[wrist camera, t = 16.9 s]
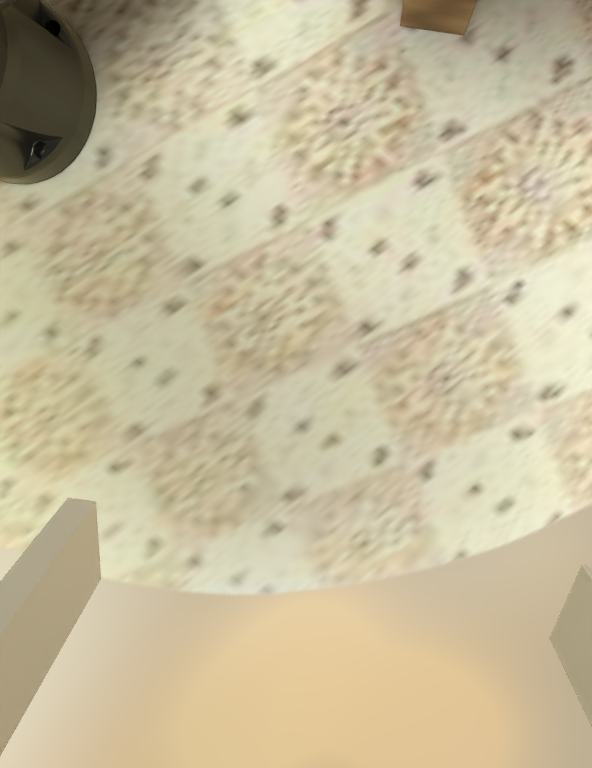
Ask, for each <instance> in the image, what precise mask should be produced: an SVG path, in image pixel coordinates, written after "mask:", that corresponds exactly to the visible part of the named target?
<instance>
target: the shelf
mask: <svg viewBox="0 0 592 768" xmlns="http://www.w3.org/2000/svg"><path fill="white" fill-rule="evenodd" d="M476 1H477V0H403V8H402V16H401V24H400V26H406V27H412V28H419V29H425V30H432V31H439V32H445V33H452V34H458V35H464V34H465V31H466V28H467V26H468V23H469V20H470V18H471V15H472V12H473V10H474V7H475V4H476Z"/></svg>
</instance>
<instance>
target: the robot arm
mask: <svg viewBox="0 0 592 768" xmlns="http://www.w3.org/2000/svg"><path fill="white" fill-rule="evenodd" d="M95 105H96V87H95V79H94V73H93V69H92V65H91V62H90V59H89V57H88V54H87V52H86V50H85V47H84V46H83V44H82V42H81V40H80V39H79V37H78V36H77V34H76V33H75V31H74V30H73V29H72V28H71V27H70V25H69V24H68V23H67V22H66V21H65V20H64V19H63V18H62V17H60V16H59V15H58V14H57V13H56V12H55V11H54V10H53V9H52V8H51V7H50V6H48V5H47V4H46V3H45V2H43V1H42V0H0V180H1V181H4V182H8V183H15V184H28V183H35V182H39V181H43V180H45V179H48V178H50V177H52V176H54V175H56V174H57V173H59V172H60V171H62V170H63V169H64V168H65V167H67V166H68V165H69V164H70V163H71V162H72V161H73V159H74V158H75V157H76V156H77V154H78V153H79V152H80V150H81V149H82V147H83V145H84V143H85V141H86V139H87V137H88V135H89V132H90V129H91V126H92V123H93V118H94V113H95ZM100 579H101V572H100V557H99V542H98V526H97V511H96V502H95V501H87V500H79V499H72V498H68V499H67V500H66V501H65V502H64V504H63V505H62V506H61V507H60V508H59V510H58V511H57V512H56V513H55V515H54V516H53V517H52V518H51V520H50V521H49V522H48V523H47V524H46V526H45V527H44V528H43V529H42V531H41V532H40V533H39V534H38V536H37V537H36V538H35V539H34V540H33V542H32V543H31V544H30V545H29V547H28V548H27V549H26V550H25V552H24V553H23V554H22V555H21V557H20V558H19V559H18V560H17V561H16V563H15V564H14V565H13V566H12V568H11V569H10V570H9V571H8V573H7V574H6V575H5V576H4V577H3V579H2V580H1V581H0V755H1V754H2V752H3V750H4V748H5V747H6V745H7V743H8V741H9V739H10V738H11V736H12V734H13V733H14V731H15V729H16V727H17V726H18V724H19V722H20V720H21V718H22V717H23V715H24V713H25V711H26V710H27V708H28V706H29V704H30V703H31V701H32V699H33V697H34V696H35V694H36V692H37V690H38V689H39V687H40V685H41V683H42V682H43V680H44V678H45V676H46V674H47V673H48V671H49V669H50V667H51V666H52V664H53V662H54V660H55V659H56V657H57V655H58V653H59V652H60V650H61V648H62V646H63V645H64V643H65V641H66V639H67V637H68V636H69V634H70V632H71V630H72V629H73V627H74V625H75V623H76V622H77V620H78V618H79V616H80V614H81V613H82V611H83V609H84V607H85V606H86V604H87V602H88V600H89V599H90V597H91V595H92V593H93V592H94V590H95V588H96V586H97V585H98V583H99V581H100ZM550 640H551V642H552V644H553V647H554V649H555V651H556V653H557V655H558V657H559V659H560V661H561V663H562V665H563V667H564V670H565V672H566V674H567V676H568V678H569V680H570V682H571V684H572V686H573V688H574V690H575V693H576V695H577V697H578V699H579V701H580V703H581V705H582V707H583V710H584V712H585V714H586V716H587V718H588V720H589V722H590V724H591V726H592V566H586V565H582V566H581V568H580V571H579V573H578V575H577V577H576V579H575V582H574V584H573V586H572V588H571V591H570V593H569V595H568V598H567V600H566V602H565V604H564V607H563V609H562V611H561V613H560V615H559V618H558V620H557V622H556V625H555V627H554V629H553V631H552V633H551V636H550Z"/></svg>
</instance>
